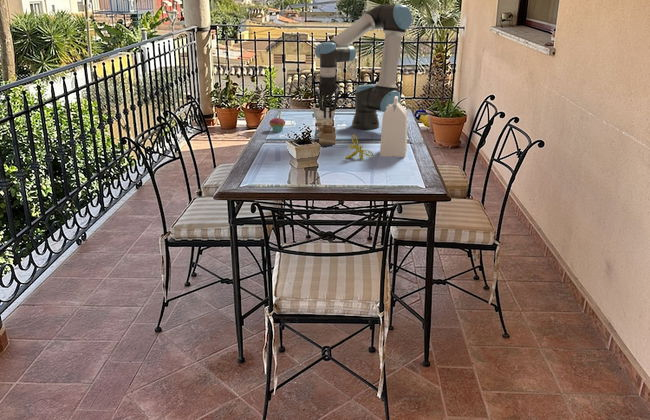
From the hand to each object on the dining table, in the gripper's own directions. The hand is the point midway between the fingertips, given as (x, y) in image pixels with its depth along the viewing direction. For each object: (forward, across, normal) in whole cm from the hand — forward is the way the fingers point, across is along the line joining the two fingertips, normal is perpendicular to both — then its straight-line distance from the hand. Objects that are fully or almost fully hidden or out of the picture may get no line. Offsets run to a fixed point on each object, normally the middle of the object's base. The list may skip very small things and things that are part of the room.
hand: (327, 124), depth 284 cm
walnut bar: (+4, 0, +5) cm, 6 cm away
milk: (+9, +31, -20) cm, 38 cm away
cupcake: (+9, -27, +23) cm, 37 cm away
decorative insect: (+9, +15, -30) cm, 35 cm away
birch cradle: (+9, 0, +4) cm, 10 cm away
